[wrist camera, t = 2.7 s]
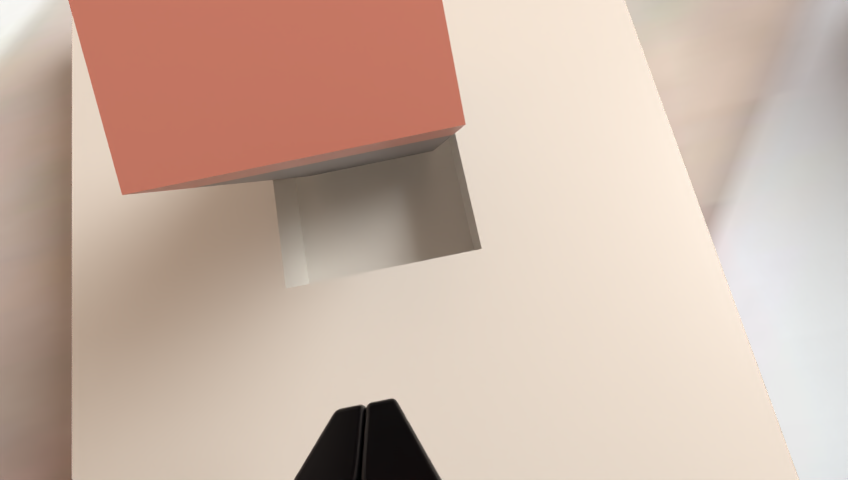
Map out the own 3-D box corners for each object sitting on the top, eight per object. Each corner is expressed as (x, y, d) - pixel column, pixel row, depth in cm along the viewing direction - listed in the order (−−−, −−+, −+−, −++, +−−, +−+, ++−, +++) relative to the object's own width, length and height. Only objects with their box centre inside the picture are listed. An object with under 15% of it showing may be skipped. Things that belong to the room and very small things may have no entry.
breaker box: (731, 504, 15) (819, 534, 12) (167, 615, 16) (71, 681, 12) (548, -58, 21) (566, -160, 18) (141, 27, 22) (72, -56, 18)
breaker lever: (432, 151, 17) (464, 124, 6) (309, 176, 17) (122, 195, 6) (416, 70, 17) (421, -111, 6) (291, 96, 17) (57, -34, 6)
